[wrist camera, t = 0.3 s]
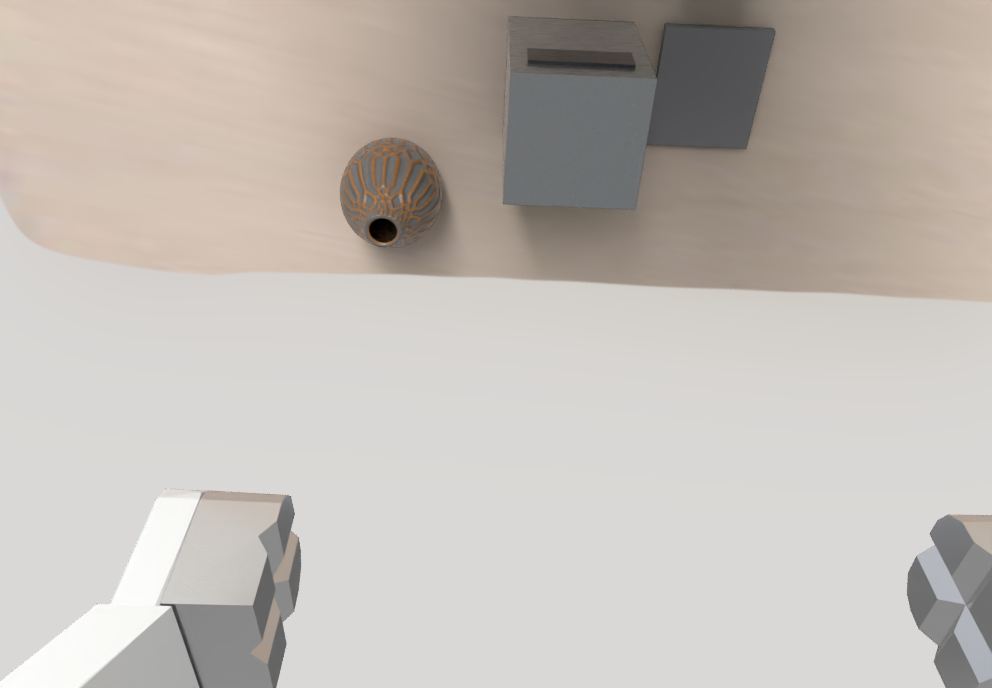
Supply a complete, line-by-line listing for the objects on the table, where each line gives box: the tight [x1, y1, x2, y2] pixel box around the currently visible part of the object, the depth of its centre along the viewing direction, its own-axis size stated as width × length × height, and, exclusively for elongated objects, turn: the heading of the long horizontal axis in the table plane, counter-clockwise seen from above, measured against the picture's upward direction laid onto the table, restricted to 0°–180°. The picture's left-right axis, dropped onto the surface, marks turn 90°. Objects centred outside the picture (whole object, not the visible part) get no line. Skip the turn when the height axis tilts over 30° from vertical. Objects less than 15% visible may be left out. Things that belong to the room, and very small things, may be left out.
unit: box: [503, 16, 657, 210], centre depth 50 cm, size 8×8×10 cm
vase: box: [340, 138, 442, 248], centre depth 55 cm, size 7×7×9 cm
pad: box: [646, 24, 776, 149], centre depth 54 cm, size 8×7×1 cm
